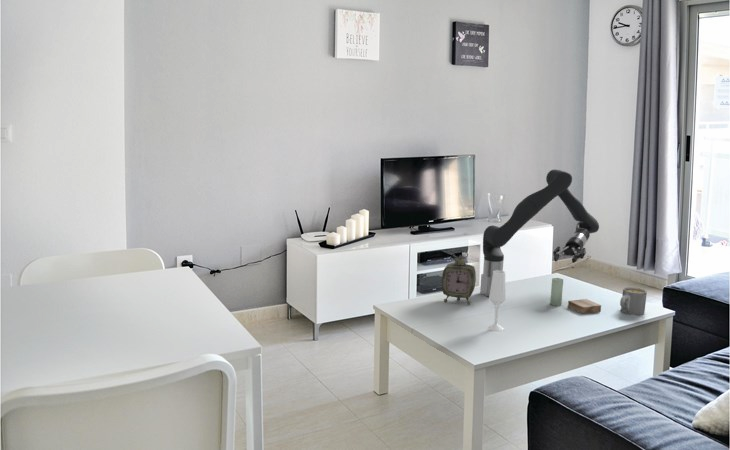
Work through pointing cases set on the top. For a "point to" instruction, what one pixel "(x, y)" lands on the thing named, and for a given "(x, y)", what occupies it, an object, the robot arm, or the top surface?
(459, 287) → the tabletop clock
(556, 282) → the candle
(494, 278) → the champagne flute
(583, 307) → the walnut block
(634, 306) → the coffee mug
